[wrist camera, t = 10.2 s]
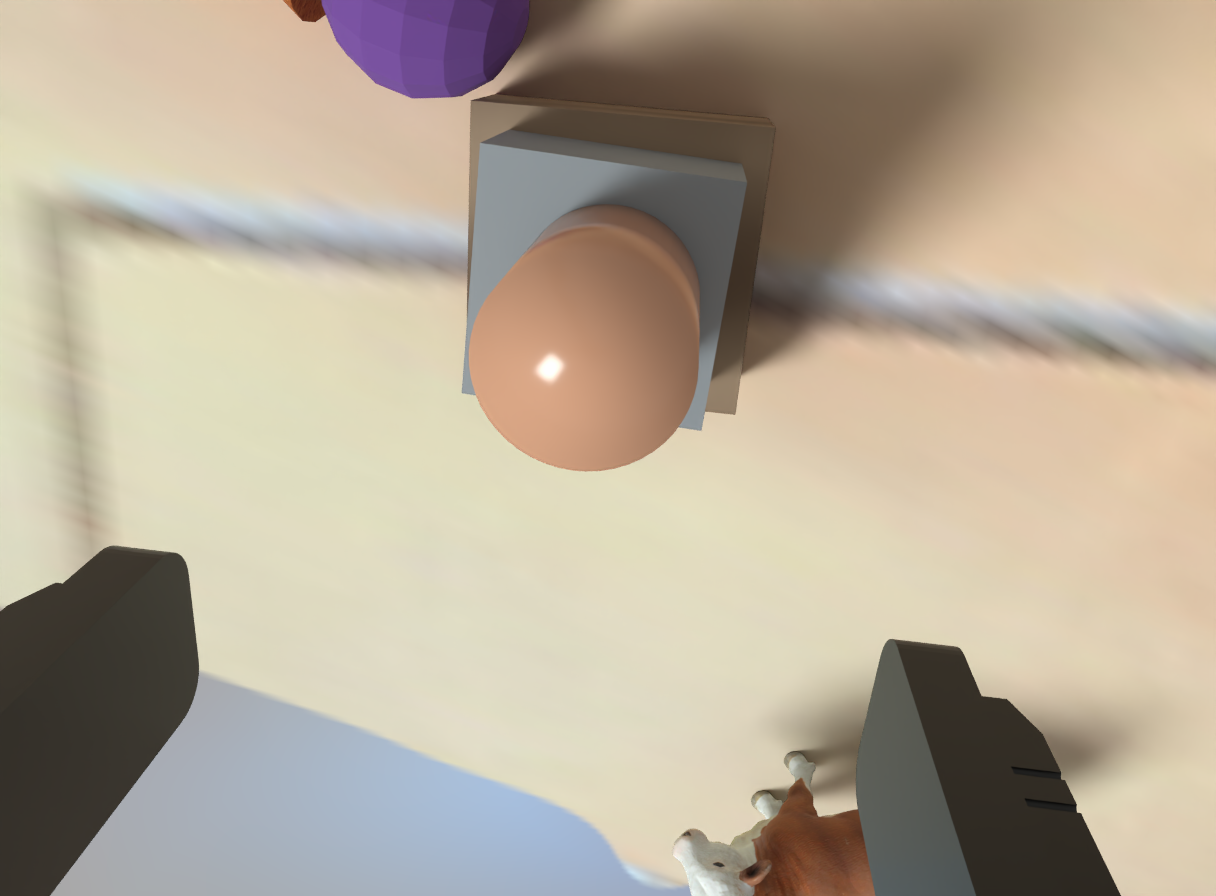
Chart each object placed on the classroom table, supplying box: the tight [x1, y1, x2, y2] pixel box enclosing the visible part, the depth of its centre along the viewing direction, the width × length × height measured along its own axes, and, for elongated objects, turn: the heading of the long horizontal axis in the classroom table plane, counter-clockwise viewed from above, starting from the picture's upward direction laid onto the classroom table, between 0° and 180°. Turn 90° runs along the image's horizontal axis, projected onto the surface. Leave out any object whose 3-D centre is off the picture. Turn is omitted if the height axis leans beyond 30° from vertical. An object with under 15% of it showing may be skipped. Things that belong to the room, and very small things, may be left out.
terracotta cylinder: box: [469, 204, 700, 471], centre depth 23 cm, size 5×5×6 cm
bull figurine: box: [672, 752, 875, 896], centre depth 38 cm, size 4×14×8 cm, turn 88°
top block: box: [462, 130, 747, 431], centre depth 28 cm, size 7×7×4 cm
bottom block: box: [467, 94, 775, 415], centre depth 32 cm, size 9×9×4 cm
